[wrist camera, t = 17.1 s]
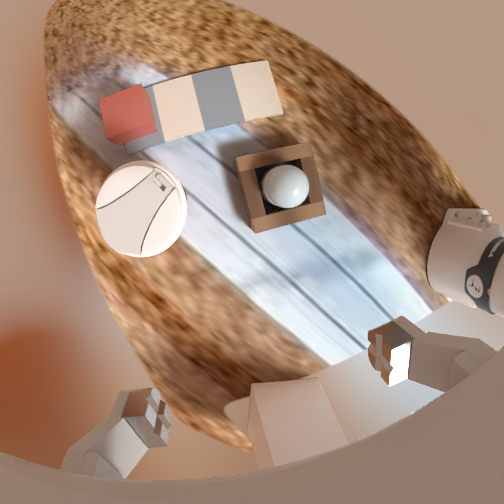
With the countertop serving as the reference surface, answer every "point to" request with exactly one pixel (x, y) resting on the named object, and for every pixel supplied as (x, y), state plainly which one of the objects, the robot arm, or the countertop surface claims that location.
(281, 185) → the dome
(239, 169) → the button box
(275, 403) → the milk
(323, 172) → the countertop surface
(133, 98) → the red block
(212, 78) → the track
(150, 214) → the paper cup
